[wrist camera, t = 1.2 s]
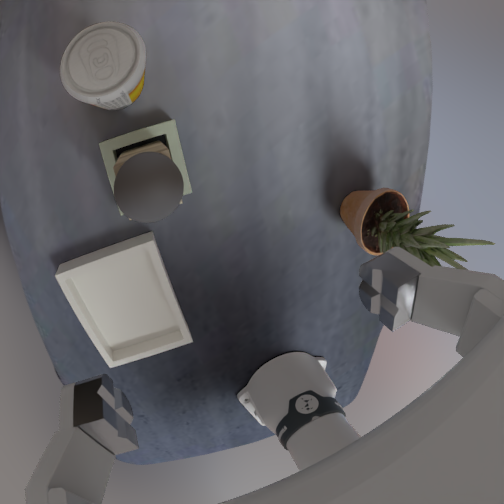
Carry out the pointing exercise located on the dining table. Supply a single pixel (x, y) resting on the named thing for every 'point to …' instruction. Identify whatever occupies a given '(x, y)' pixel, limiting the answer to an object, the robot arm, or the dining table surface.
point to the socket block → (140, 135)
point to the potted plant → (397, 227)
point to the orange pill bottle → (105, 65)
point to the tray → (125, 300)
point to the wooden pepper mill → (147, 183)
